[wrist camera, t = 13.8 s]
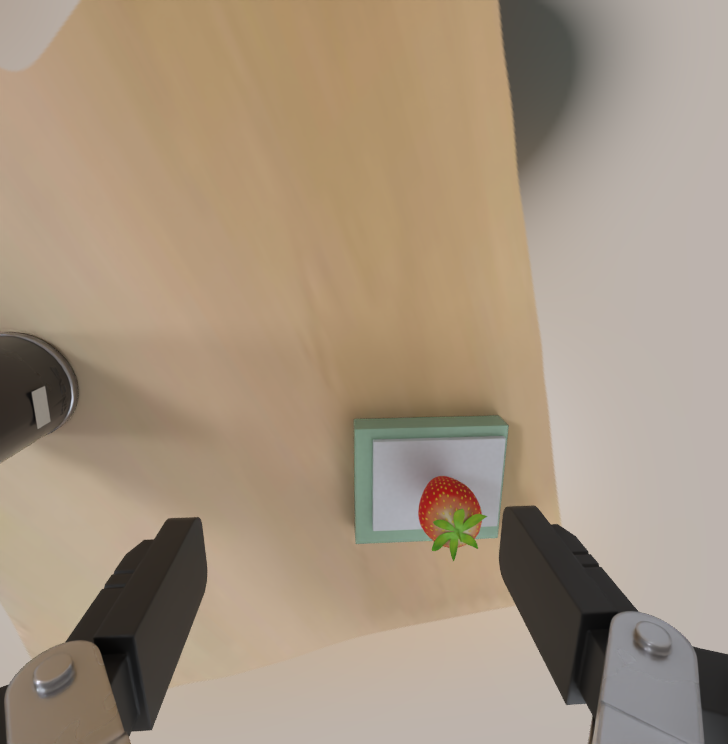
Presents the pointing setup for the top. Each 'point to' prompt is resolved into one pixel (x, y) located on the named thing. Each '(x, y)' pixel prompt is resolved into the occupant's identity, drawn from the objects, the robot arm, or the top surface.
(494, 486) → the scale
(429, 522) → the fruit
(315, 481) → the top surface
